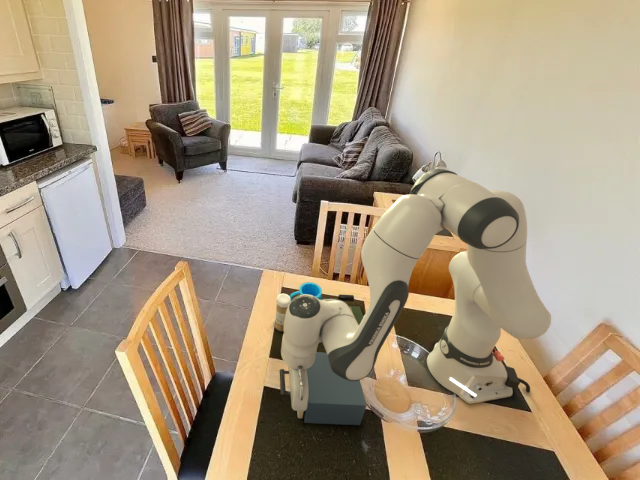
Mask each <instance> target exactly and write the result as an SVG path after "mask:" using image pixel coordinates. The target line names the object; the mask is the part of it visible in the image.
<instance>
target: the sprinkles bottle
mask: <svg viewBox="0 0 640 480" xmlns="http://www.w3.org/2000/svg"><path fill="white" fill-rule="evenodd" d="M291 301H292V298H290V295H289V294H288V293H280V294H278V295H277V297H276V309H275V322H274V328H275V329H276V330H277V331H278V332H284V320H285V315H286V311H287V308H288V305H289V304H290V302H291Z"/></svg>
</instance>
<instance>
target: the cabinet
mask: <svg viewBox="0 0 640 480" xmlns="http://www.w3.org/2000/svg"><path fill="white" fill-rule="evenodd" d="M306 370H307V378H308V388H309V395H308V405H307V410H305V411H304V412H303V421H304V424H319V425H321V424H322V425H344V426H345V425H346V426H361V423H362V421H363V418H364V414H365V411H366V408H367V405H368V404H367V401H366V398H365V394H364V391H363V390H364V389H363V387H362V383H361V380H359V381H349V380H346V379H344V378H342V377H340V376H338V375H337V374H335V373H334V372H333V371H332V369H331V366H330V363H329V360H328V355H327V352H320V351H319V352H318V351H317V352H316V357H315V361H314V363H313V365H312V366H311V367H310V368H308V369H306Z"/></svg>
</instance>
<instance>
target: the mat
mask: <svg viewBox="0 0 640 480" xmlns="http://www.w3.org/2000/svg"><path fill="white" fill-rule="evenodd" d="M348 306H349V307H351V310H352V313H353V315H354V317H355V319H356V321H357V323H358V325H360V323H361V321H362V319H363V317H364V314H363V312H362V309H361V308H362V307H361V306H360V305H348Z"/></svg>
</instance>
